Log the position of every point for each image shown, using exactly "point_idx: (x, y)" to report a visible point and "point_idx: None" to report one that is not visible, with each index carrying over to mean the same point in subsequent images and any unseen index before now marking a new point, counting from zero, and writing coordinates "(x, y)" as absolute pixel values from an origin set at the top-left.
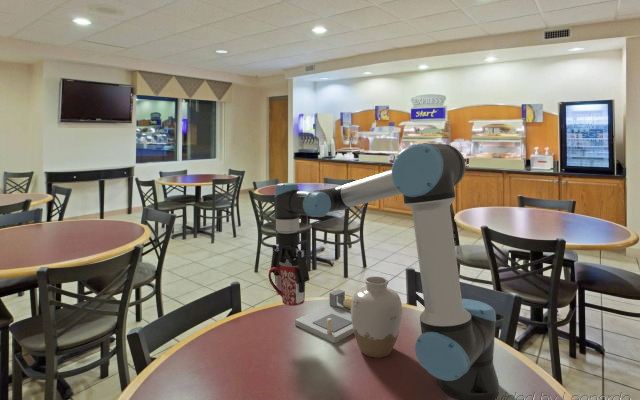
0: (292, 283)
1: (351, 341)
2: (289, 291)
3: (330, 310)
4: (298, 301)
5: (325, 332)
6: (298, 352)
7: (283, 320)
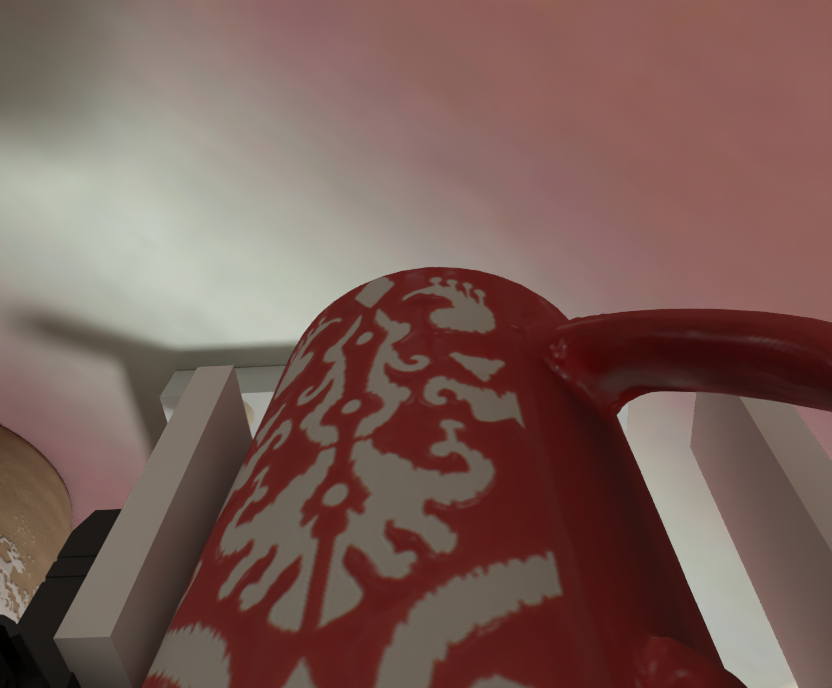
0: (199, 588)
1: (138, 462)
2: (300, 422)
3: None
4: (193, 390)
5: (268, 404)
6: (211, 82)
7: None
